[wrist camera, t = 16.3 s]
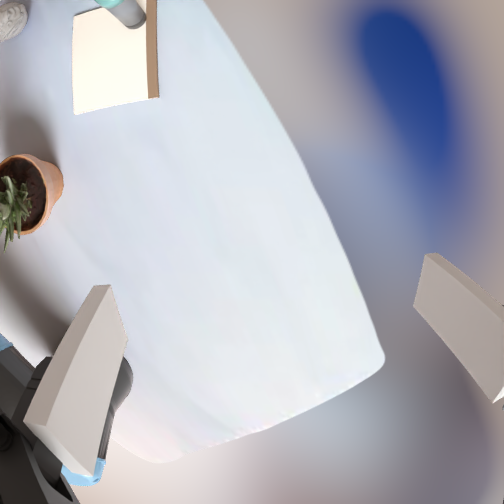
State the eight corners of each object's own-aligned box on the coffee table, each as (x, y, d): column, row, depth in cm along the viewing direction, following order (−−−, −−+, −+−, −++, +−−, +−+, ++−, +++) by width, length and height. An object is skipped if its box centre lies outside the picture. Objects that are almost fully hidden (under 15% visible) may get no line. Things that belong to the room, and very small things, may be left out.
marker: (123, 32, 26) (92, 7, 17) (123, 12, 25) (94, -17, 16) (147, 27, 26) (122, -2, 17) (147, 7, 25) (124, -26, 16)
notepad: (76, 114, 30) (74, 114, 29) (75, 17, 24) (73, 16, 24) (159, 97, 31) (158, 97, 30) (157, -4, 25) (156, -5, 24)
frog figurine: (16, 55, 24) (-13, 49, 18) (-1, 32, 22) (-28, 25, 15) (45, 21, 23) (18, 9, 17) (26, 0, 20) (1, -12, 14)
